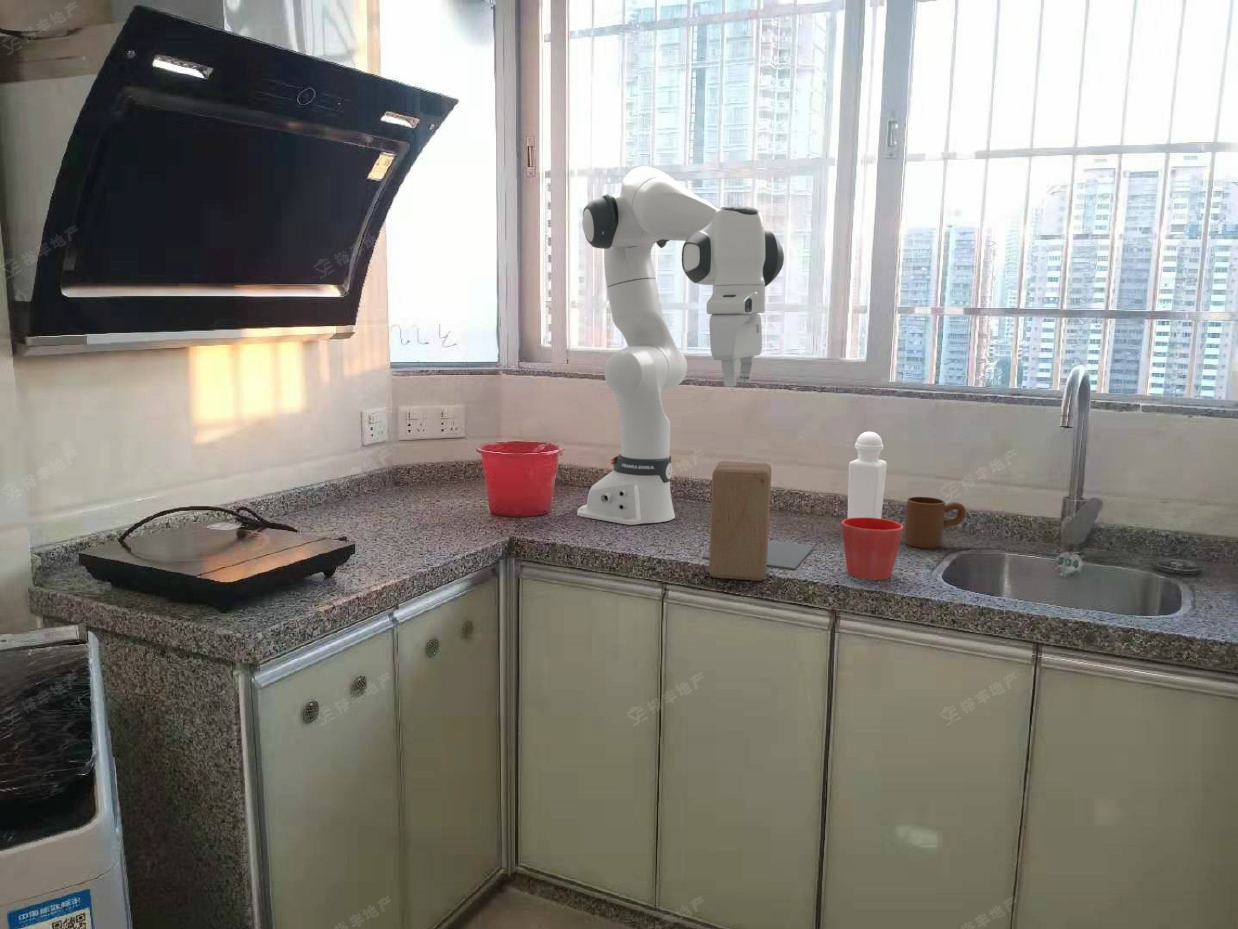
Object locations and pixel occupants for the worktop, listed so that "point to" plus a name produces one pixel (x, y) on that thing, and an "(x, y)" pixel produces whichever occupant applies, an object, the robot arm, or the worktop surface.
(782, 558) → the rubber mat
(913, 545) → the mug
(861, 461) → the white bottle
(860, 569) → the flower pot
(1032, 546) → the worktop surface
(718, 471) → the wooden block
